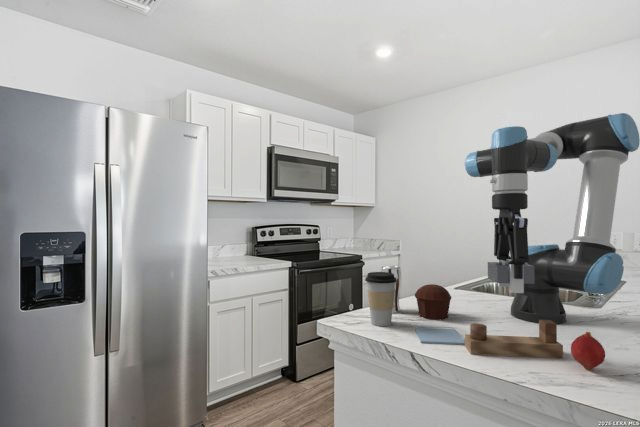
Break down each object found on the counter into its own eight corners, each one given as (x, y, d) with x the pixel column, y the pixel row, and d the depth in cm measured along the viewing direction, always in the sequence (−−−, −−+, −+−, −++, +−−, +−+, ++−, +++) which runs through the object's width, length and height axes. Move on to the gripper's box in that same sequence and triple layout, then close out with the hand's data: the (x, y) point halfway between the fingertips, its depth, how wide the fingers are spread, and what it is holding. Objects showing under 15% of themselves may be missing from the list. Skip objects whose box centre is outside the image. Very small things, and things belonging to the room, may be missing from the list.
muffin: (434, 309, 122) (434, 281, 122) (459, 318, 112) (459, 286, 112) (407, 314, 117) (407, 284, 117) (430, 323, 107) (430, 290, 107)
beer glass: (389, 314, 116) (389, 269, 116) (376, 309, 122) (376, 266, 122) (405, 311, 119) (405, 267, 119) (392, 307, 125) (392, 265, 126)
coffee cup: (397, 329, 101) (396, 276, 101) (364, 327, 103) (363, 275, 103) (396, 319, 110) (396, 271, 110) (366, 318, 112) (366, 271, 112)
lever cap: (522, 278, 87) (521, 259, 87) (534, 283, 80) (534, 262, 80) (487, 278, 88) (487, 258, 88) (497, 282, 81) (497, 262, 81)
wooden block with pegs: (551, 350, 85) (551, 319, 85) (563, 358, 80) (562, 325, 80) (464, 346, 87) (464, 316, 87) (470, 354, 82) (470, 322, 83)
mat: (455, 330, 99) (455, 329, 99) (465, 344, 88) (465, 342, 88) (415, 329, 101) (415, 327, 101) (420, 342, 90) (420, 341, 90)
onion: (564, 364, 77) (563, 327, 77) (588, 363, 77) (588, 326, 77) (586, 376, 71) (586, 336, 71) (612, 375, 71) (612, 335, 71)
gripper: (479, 195, 94) (480, 281, 94) (509, 190, 75) (510, 298, 75) (509, 195, 93) (510, 282, 93) (546, 189, 74) (548, 299, 74)
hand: (510, 289), depth 84 cm, fingers closed on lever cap, 6 cm apart
